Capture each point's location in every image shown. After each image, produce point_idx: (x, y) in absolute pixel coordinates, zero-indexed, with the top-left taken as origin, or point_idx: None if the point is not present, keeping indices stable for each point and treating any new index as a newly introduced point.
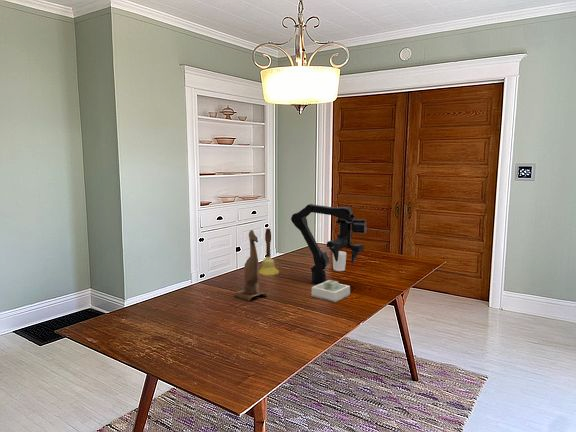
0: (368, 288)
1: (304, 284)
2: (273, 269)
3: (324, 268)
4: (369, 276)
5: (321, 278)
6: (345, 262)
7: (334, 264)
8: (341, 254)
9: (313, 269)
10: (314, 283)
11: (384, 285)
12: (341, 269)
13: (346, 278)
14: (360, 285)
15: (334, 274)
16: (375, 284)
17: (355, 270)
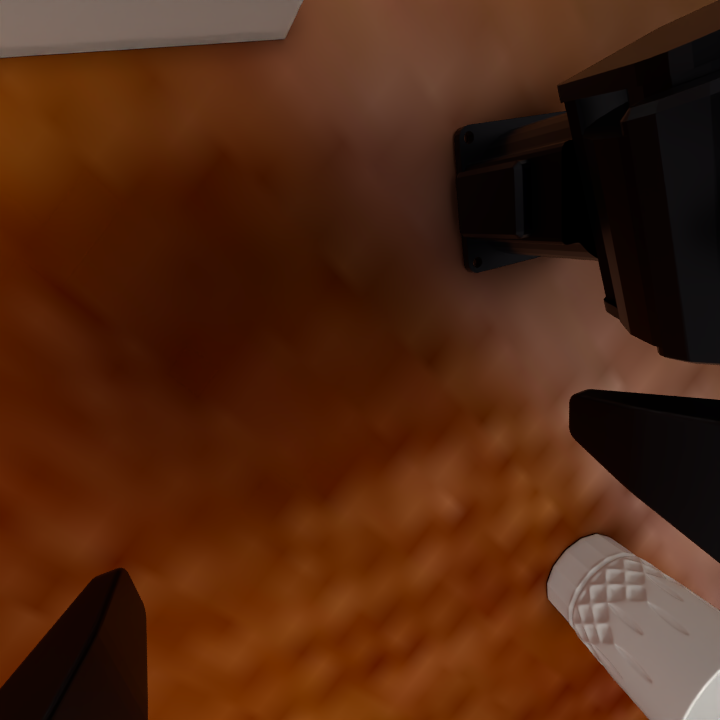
0: (6, 502)
1: (573, 15)
2: None
3: (586, 134)
4: (327, 688)
5: (503, 156)
6: (596, 655)
7: (637, 565)
8: (694, 697)
9: (695, 15)
10: (517, 118)
11: None
12: (562, 576)
13: (416, 499)
14: (166, 489)
15: (544, 477)
16: None
17: (493, 658)
